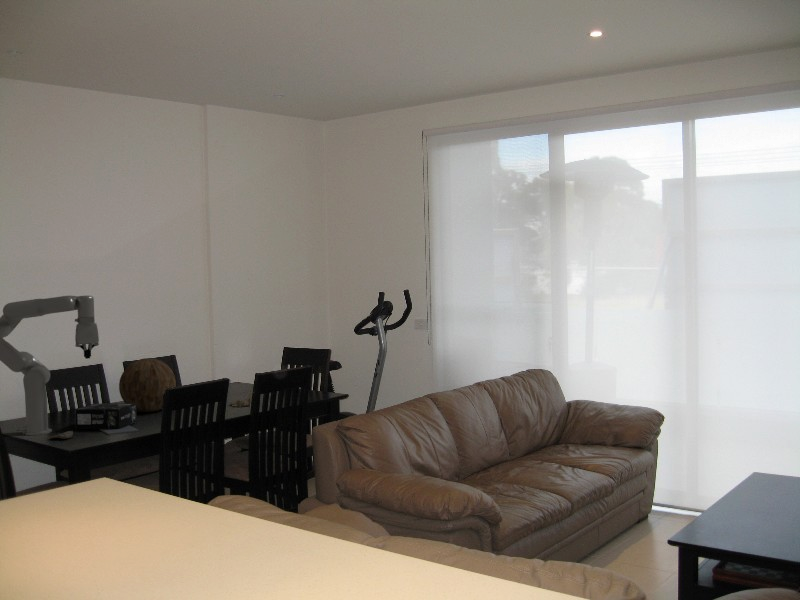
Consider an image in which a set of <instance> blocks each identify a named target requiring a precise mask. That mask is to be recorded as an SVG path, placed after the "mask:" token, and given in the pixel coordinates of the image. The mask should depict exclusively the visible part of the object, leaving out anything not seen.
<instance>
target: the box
mask: <svg viewBox="0 0 800 600" xmlns="http://www.w3.org/2000/svg"><path fill="white" fill-rule="evenodd" d="M74 411H75V412H74V414H75V415H74V416H75V417H74V418H75V419H74V420H75V429H77V430H99V429H120V428H123V427H125V426H128V425H129V426H131V425H133V424H135V423H137V422H138V421H137V420H138V417H137V414H138V411H137V410H136V403H125V402H124V403H118V402H117V403H110V402H109V403H91V404H88V405H85V406H81V407H78V408H75V410H74Z"/></svg>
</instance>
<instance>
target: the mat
mask: <svg viewBox="0 0 800 600" xmlns="http://www.w3.org/2000/svg"><path fill="white" fill-rule="evenodd" d="M98 430H99V431H100V432H102V433H105V434H107V435H109V436H111V435H120V434H125V433H135V432H139V431H140V430H139V428H136V427H133V426H132V425H128V426H125V427H123V428H120V429H98Z"/></svg>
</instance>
